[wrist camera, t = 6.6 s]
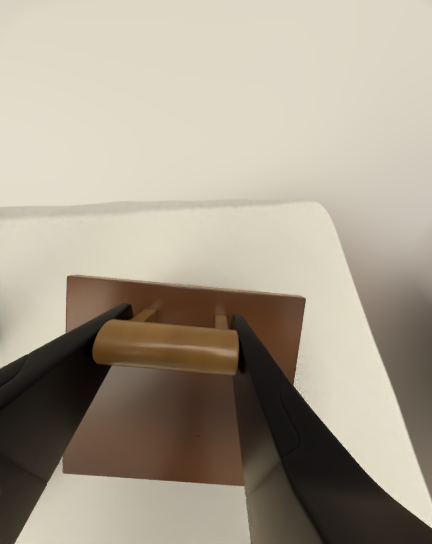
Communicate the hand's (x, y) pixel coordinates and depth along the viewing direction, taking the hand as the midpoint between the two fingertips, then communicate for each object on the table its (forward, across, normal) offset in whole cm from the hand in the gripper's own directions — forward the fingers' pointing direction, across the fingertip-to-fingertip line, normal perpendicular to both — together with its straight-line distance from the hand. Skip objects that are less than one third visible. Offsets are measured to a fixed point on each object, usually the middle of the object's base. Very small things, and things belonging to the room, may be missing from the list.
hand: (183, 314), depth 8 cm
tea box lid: (0, 0, +5) cm, 5 cm away
